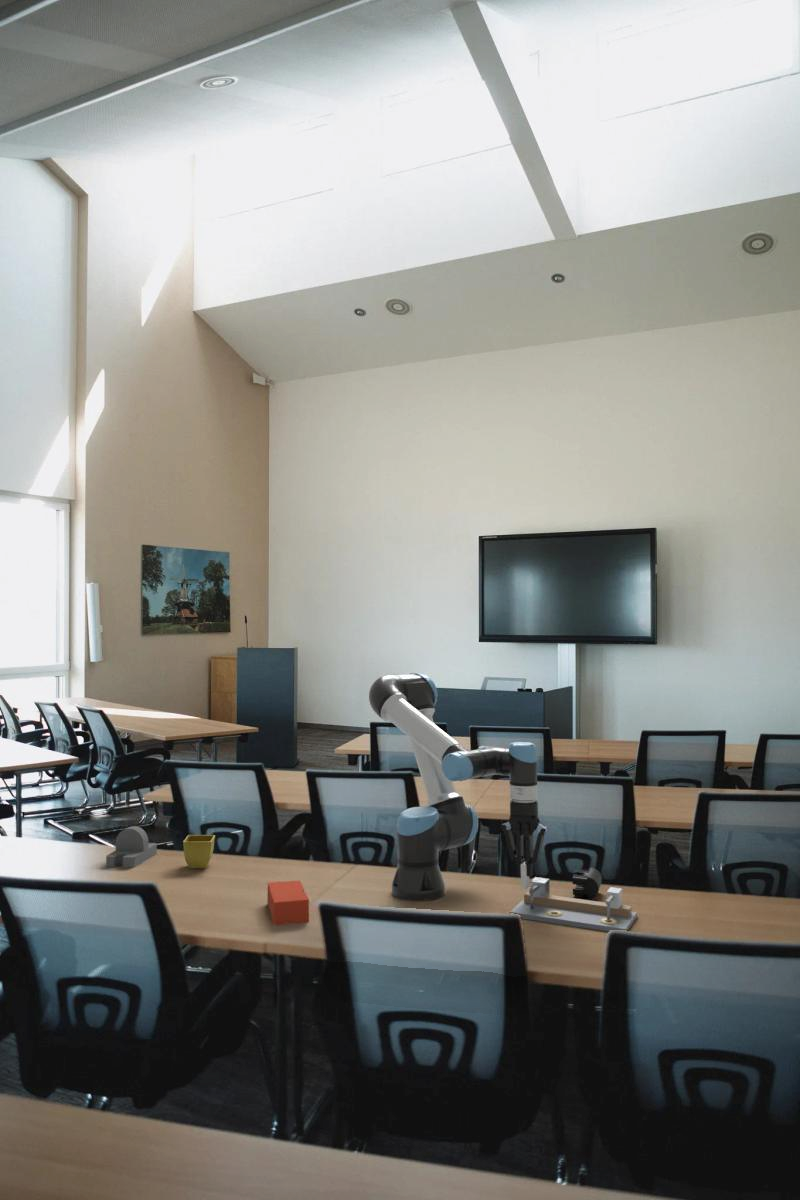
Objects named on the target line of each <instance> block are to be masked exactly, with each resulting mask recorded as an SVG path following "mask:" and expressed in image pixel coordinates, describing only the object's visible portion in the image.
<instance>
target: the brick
mask: <svg viewBox="0 0 800 1200" xmlns="http://www.w3.org/2000/svg"><path fill="white" fill-rule="evenodd" d="M309 905H310V899H309V896H308V895H307V893H306V892H305V887H304V886H303V884H302V882H301V880H288V881H287V880H285V881H276V882H275V881H272V882H267V907H268V910H269V913H270V916H271V920H272V923H273V925H274V926H279V925H281V926H282V925H289V924H291V925H292V924H301V923H302V924H303V923H309V922H310V913H309V912H310V906H309Z"/></svg>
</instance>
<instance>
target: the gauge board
mask: <svg viewBox="0 0 800 1200" xmlns="http://www.w3.org/2000/svg"><path fill="white" fill-rule="evenodd" d="M510 913H514V914H519V915H520V916H521V918H520V919H524V920H530V921H535V922H536V921H537V922H542V923H551V924H556V925H562V926H563V925H565V926H571V927H577V928H582V929H583V928H584V929H588V930H589V929H591V930H596V931H597V930H598V931H603V932H604V931H605V932H609V930H628V931H629V930H630V928H631V927H632V926H633V923H634V922H635V921H636V919H637V917H638V912H637V911H632V906H631V905H627V904H626V905H625V904H623V888H620V887H611V886H610V887H609V888H608V889H607V891H606V900H605V901H595V900H583V899H575V898H573V897H567V896H560V895H553V894H549V895H548V896H547V897H546V898H538V897H533V909H531V896H530V894H529V891H527V892H525V893H524V894H523V899H522V900H521V901H520V902H519V903H517V905H515V906H514V907H513V908H512V909H511V910H510V911H509V914H510Z"/></svg>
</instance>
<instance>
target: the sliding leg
mask: <svg viewBox="0 0 800 1200" xmlns="http://www.w3.org/2000/svg"><path fill="white" fill-rule="evenodd" d="M528 892H529V894H530V896H531V909H533V897H538V898H546V897H547V896H548V895H551V894H550V878H546V877H537V876H534V878H532V879H531V880H529V890H528Z"/></svg>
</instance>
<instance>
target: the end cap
mask: <svg viewBox="0 0 800 1200" xmlns="http://www.w3.org/2000/svg"><path fill="white" fill-rule="evenodd" d="M602 880H603V879H602V874H601V873H600V871H599V870H598V869H596V868H595V867H590V868H589V870H588V869H578V868H577V869H575V871H574V874H573V876H572V885H575V887H573V888H572V895H573V896H572V898H575V899H583V900H590V901H593V899H595V898H596V897H597V896H598V894H599V891H600V888H601V886H602Z"/></svg>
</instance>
